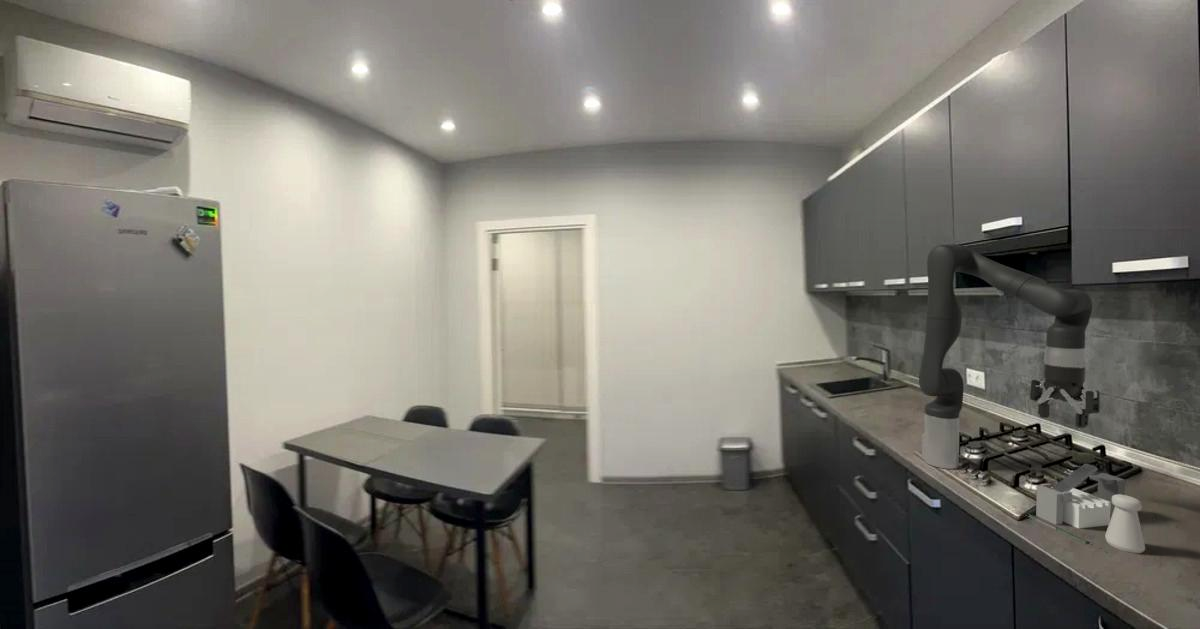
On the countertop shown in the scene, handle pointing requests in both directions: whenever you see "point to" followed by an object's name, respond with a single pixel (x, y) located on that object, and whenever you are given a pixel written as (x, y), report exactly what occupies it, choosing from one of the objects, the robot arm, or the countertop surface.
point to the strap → (1075, 478)
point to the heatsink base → (1071, 509)
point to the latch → (1109, 487)
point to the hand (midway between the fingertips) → (1062, 422)
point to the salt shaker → (1125, 525)
